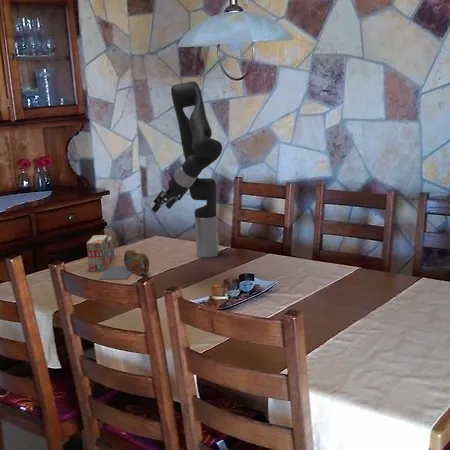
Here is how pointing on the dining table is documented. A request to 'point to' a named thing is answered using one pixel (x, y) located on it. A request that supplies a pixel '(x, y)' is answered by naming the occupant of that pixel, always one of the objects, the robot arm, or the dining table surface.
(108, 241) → the stack of blocks
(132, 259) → the tin
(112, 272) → the mat
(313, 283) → the dining table surface
